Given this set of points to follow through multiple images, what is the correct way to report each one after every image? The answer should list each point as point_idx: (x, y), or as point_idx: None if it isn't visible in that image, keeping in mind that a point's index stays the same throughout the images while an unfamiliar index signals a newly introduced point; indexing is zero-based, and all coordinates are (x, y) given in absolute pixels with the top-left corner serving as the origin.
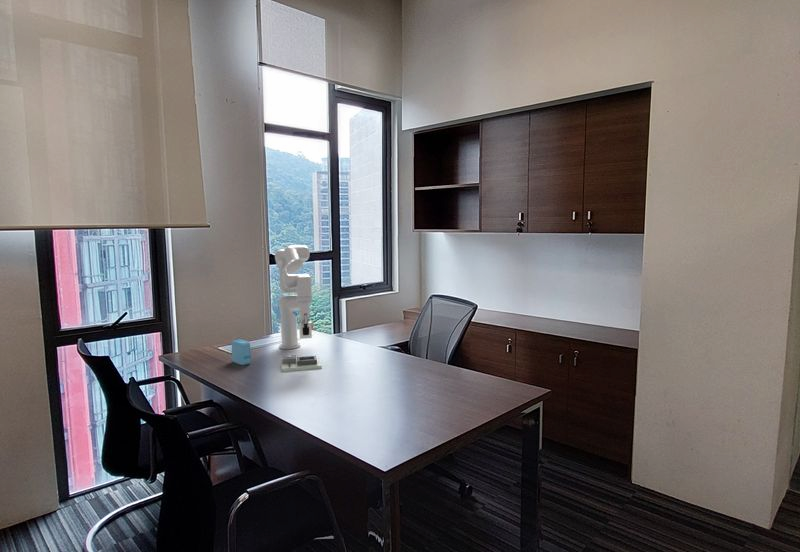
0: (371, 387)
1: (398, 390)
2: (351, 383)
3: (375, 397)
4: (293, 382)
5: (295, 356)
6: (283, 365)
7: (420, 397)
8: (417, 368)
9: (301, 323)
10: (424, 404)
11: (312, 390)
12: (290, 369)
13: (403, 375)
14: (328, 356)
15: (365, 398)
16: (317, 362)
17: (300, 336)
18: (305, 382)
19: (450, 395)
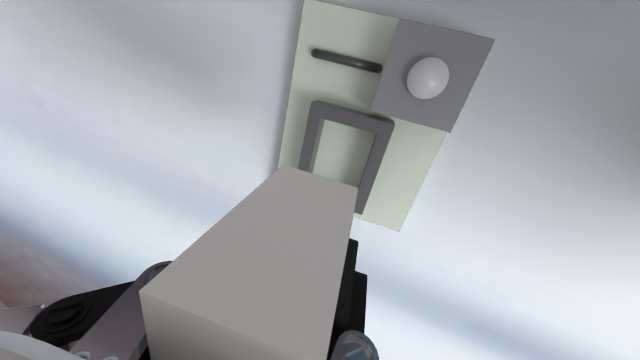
0: (84, 217)
1: (66, 248)
2: (113, 195)
3: (26, 193)
4: (144, 25)
5: (415, 121)
6: (365, 25)
7: (34, 254)
8: None
9: (146, 321)
10: (5, 241)
11: (63, 71)
12: (298, 53)
13: None
14: (427, 272)
15: (19, 173)
16: None
17: (273, 177)
18: (138, 73)
19: (46, 290)
